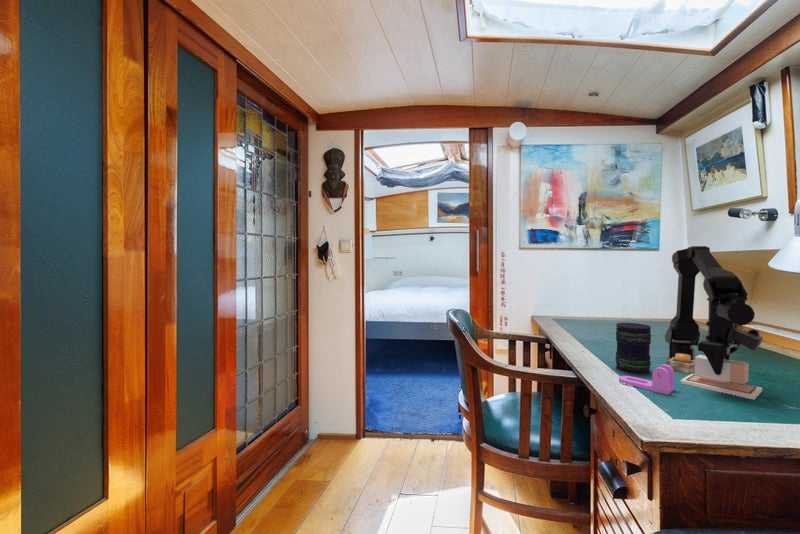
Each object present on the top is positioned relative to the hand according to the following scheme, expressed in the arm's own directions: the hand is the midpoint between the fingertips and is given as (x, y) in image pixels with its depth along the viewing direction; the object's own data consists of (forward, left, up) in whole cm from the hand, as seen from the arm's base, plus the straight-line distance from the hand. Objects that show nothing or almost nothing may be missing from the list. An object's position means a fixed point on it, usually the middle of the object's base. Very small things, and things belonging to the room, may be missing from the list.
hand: (720, 373), depth 107 cm
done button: (-12, +11, -2) cm, 17 cm away
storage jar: (-22, -2, -4) cm, 23 cm away
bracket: (-14, -16, -4) cm, 22 cm away
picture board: (0, 0, -4) cm, 4 cm away
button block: (-12, +11, -4) cm, 17 cm away
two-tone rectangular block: (0, 0, -1) cm, 1 cm away
